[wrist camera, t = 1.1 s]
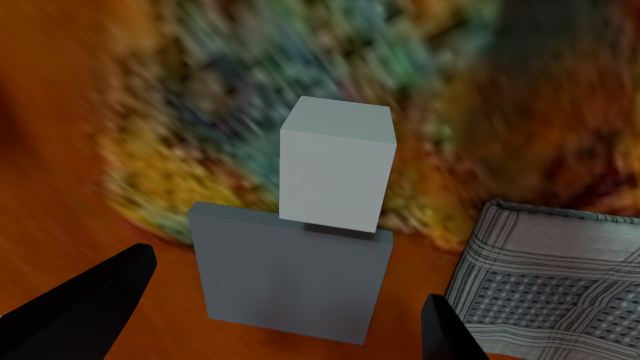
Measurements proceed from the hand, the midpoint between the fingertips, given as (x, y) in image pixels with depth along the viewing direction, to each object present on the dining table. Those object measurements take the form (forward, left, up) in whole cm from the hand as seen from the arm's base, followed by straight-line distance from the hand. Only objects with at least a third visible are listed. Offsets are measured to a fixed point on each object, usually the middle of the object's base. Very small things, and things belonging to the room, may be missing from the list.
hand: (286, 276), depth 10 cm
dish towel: (-21, +12, -13) cm, 27 cm away
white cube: (-1, +1, -12) cm, 12 cm away
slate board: (+2, +15, -12) cm, 19 cm away
